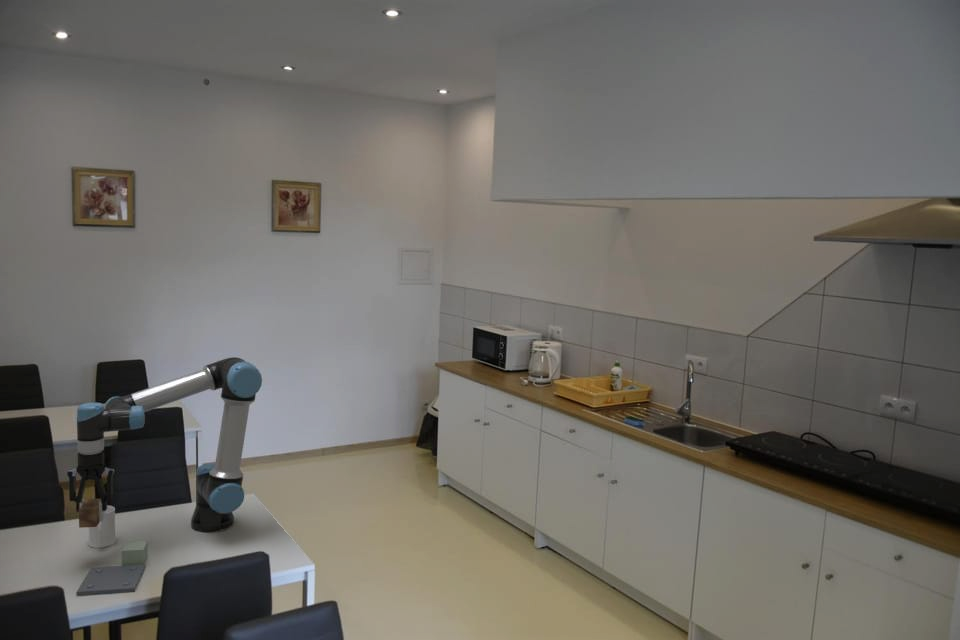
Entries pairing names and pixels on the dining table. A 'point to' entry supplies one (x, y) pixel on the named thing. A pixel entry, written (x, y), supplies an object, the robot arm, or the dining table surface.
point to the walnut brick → (89, 513)
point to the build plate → (111, 579)
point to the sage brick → (135, 553)
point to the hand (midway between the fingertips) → (92, 520)
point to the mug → (103, 530)
